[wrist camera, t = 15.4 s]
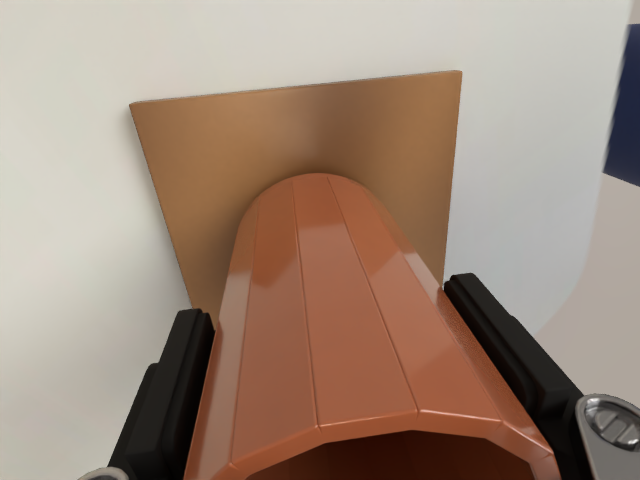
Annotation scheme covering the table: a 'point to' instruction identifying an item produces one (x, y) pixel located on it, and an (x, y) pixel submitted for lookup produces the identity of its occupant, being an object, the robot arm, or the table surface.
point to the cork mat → (299, 160)
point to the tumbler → (348, 357)
